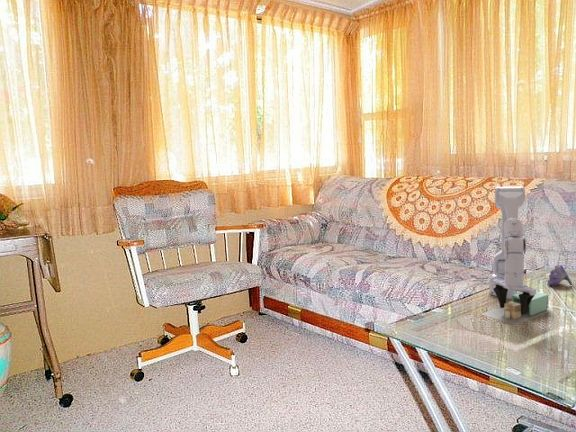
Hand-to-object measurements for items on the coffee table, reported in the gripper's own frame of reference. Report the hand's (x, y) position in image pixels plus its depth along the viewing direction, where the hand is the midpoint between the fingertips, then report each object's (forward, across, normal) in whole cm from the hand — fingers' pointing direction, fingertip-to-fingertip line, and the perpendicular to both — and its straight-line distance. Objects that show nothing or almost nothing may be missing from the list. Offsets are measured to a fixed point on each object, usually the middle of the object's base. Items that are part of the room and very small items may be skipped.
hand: (513, 310), depth 160 cm
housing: (+2, 0, +9) cm, 10 cm away
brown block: (+2, 0, 0) cm, 2 cm away
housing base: (+3, -2, +4) cm, 6 cm away
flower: (+4, -12, +49) cm, 51 cm away
